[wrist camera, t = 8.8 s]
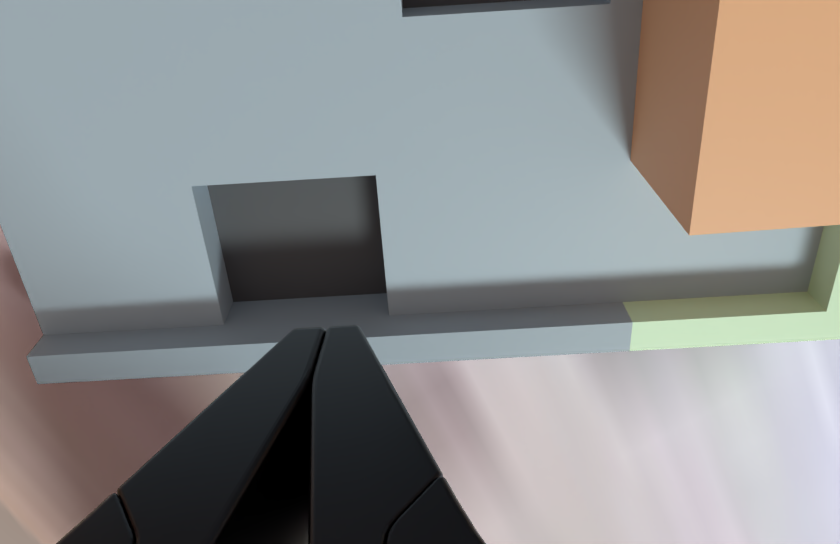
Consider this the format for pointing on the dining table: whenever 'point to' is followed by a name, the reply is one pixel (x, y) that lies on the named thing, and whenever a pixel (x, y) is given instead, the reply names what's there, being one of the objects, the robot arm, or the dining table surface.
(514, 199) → the box
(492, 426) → the dining table surface
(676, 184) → the block
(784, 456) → the dining table surface
